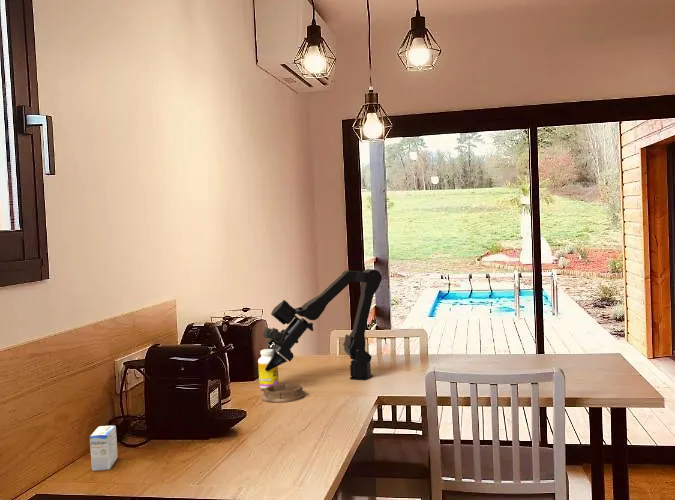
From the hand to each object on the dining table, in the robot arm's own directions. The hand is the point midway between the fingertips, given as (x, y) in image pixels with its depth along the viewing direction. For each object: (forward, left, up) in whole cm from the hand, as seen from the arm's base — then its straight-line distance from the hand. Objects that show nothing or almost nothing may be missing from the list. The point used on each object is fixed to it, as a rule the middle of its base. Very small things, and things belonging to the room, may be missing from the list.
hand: (264, 368), depth 232 cm
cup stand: (-11, +7, -7) cm, 15 cm away
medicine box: (+1, +74, -8) cm, 74 cm away
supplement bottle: (-1, -1, -7) cm, 7 cm away
